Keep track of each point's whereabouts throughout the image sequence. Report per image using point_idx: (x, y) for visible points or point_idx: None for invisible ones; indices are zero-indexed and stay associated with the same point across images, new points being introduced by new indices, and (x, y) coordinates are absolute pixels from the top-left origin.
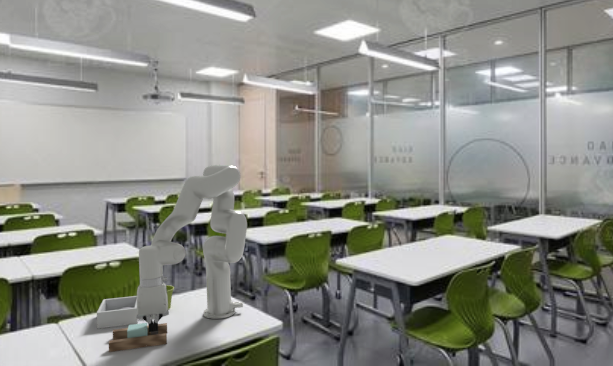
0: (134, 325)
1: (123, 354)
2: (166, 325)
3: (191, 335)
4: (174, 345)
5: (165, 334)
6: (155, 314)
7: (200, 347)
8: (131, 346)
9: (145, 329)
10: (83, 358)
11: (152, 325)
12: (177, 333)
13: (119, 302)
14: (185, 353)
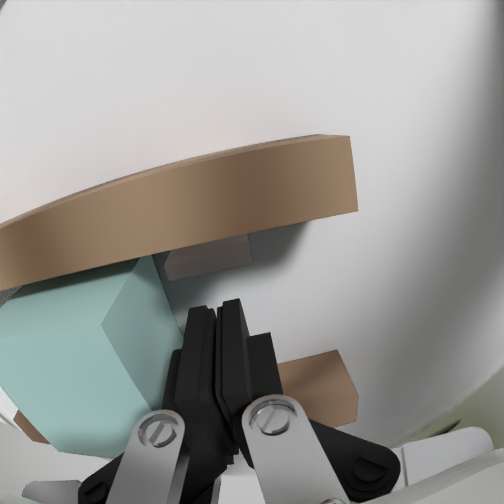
0: (19, 369)
1: None
2: (351, 209)
3: (476, 263)
4: (378, 386)
5: (349, 412)
6: (267, 502)
7: (466, 384)
8: None
9: None
10: (7, 418)
11: (235, 444)
12: (408, 212)
13: None
14: (407, 429)
